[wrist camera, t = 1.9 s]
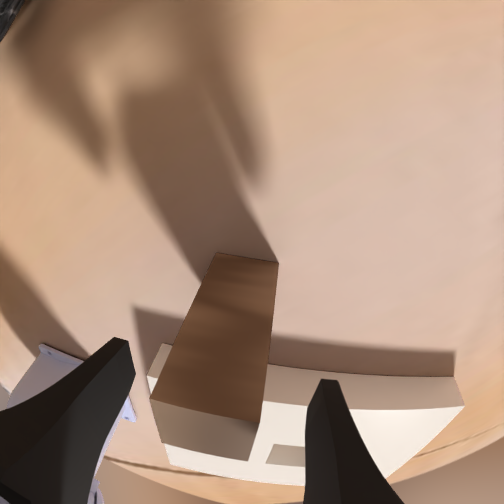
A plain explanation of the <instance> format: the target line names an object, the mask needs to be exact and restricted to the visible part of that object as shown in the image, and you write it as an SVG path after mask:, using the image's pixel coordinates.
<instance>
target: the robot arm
mask: <svg viewBox="0 0 504 504" xmlns="http://www.w3.org/2000/svg"><path fill="white" fill-rule="evenodd" d="M39 349H40V352H41V353H40V354H39V356H38V357H37V358H36V360H35V361H34V362H33V364H32V365H31V366H30V368H29V369H28V370H27V372H26V373H25V374H24V376H23V377H22V379H21V380H20V381H19V383H18V384H17V386H16V387H15V388H14V390H13V391H12V393H11V395H10V398H9V401H8V405H7V409H5V410H3V411H0V504H104V499H103V496H102V493H101V491H100V489H98V485H99V483H100V482H99V481H98V480H96V479H94V477H95V475H96V472H97V470H98V468H99V465H100V463H101V461H102V459H103V456H104V454H105V452H106V450H107V447H108V445H109V443H110V441H111V439H112V436H113V434H114V432H115V430H116V428H117V425H118V423H119V421H120V419H121V418H122V419H125V420H128V421H131V422H136V420H137V418H136V415H135V413H134V410H133V407H132V404H131V401H130V398H129V392H130V389H131V387H132V384H133V381H134V378H135V375H136V372H135V369H134V364H133V360H132V356H131V352H130V347H129V343H128V341H127V340H123V339H120V338H116V337H114V338H112V339H111V340H110V341H108V342H107V343H106V344H105V345H104V346H102V347H101V348H100V349H99V350H98V351H96V352H95V353H94V354H93V355H91V356H90V357H89V358H88V359H87V360H85V361H82V360H80V359H77V358H75V357H72V356H70V355H67V354H65V353H62V352H60V351H58V350H55V349H53V348H51V347H48V346H46V345H44V344H40V345H39ZM303 504H404V503H403V502H402V500H401V499H400V498H399V496H398V495H397V494H396V493H395V491H393V489H392V488H391V486H390V485H389V483H388V482H387V481H386V479H385V478H384V476H383V475H382V473H381V472H380V470H379V468H378V467H377V465H376V464H375V462H374V460H373V458H372V457H371V455H370V453H369V451H368V449H367V447H366V445H365V444H364V442H363V439H362V437H361V435H360V433H359V431H358V429H357V427H356V424H355V422H354V420H353V418H352V415H351V413H350V410H349V408H348V406H347V403H346V400H345V398H344V395H343V392H342V390H341V387H340V384H339V382H338V380H331V379H321V380H320V382H319V384H318V386H317V388H316V390H315V393H314V395H313V397H312V399H311V401H310V403H309V405H308V407H307V414H306V424H305V493H304V501H303Z"/></svg>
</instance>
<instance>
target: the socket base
mask: <svg viewBox="0 0 504 504" xmlns="http://www.w3.org/2000/svg"><path fill="white" fill-rule="evenodd" d="M171 348H172V345H168V344H164V343H162V345H161V347H160V349H159V351H158V353H157V355H156V357H155V359H154V361H153V363H152V366H151V368H150V370H149V372H148V374H147V379H148V384H149V388H150V392H151V394H152V391H153V389H154V387H155V384H156V382H157V380H158V378H159V375H160V373H161V371H162V369H163V366H164V364H165V362H166V360H167V357H168V355H169V353H170V351H171ZM321 379H331V380H338V382H339V384H340V387H341V390H342V392H343V395H344V398H345V400H346V403H347V406H348V408H349V410H350V413H351V415H352V418H353V420H354V422H355V424H356V427H357V429H358V431H359V433H360V435H361V437H362V439H363V442H364V444H365V445H366V447H367V449H368V451H369V453H370V455H371V457H372V458H373V460H374V462H375V464H376V465H377V467H378V468H379V470H380V472H381V473H382V475H383V476H384V478H387V477H388V476H389V475H391V474H392V473H393V472H395V471H396V470H397V469H398V468H400V467H401V466H402V465H403V464H405V463H406V462H407V461H408V460H409V459H411V458H412V457H413V456H414V455H415V454H417V453H418V452H419V451H420V450H421V449H422V448H423V447H424V446H426V445H427V444H428V443H429V442H430V441H431V440H432V439H433V438H434V437H435V436H436V435H437V434H438V433H439V432H440V431H441V430H442V429H444V428H445V427H446V426H447V425H448V423H449V422H450V421H451V420H452V419H453V418H454V417H455V416H456V415H457V414H458V413H459V412H460V411H461V410H462V409H463V408H464V407H465V404H464V401H463V399H462V396H461V393H460V390H459V388H458V385H457V383H456V380H455V377H402V376H378V375H361V374H348V373H336V372H326V371H316V370H308V369H299V368H291V367H284V366H277V365H270V364H268V365H267V373H266V381H265V389H264V397H263V404H262V412H261V419H260V424H259V428H258V431H257V434H256V438H255V441H254V444H253V447H252V450H251V454H250V457H249V460H248V461H241V460H235V459H229V458H224V457H219V456H214V455H209V454H204V453H200V452H195V451H191V450H187V449H183V448H179V447H175V446H171V445H168V444H164V445H165V448H166V452H167V455H168V458H169V461H170V464H171V465H175V466H178V467H182V468H186V469H190V470H195V471H199V472H203V473H208V474H213V475H218V476H223V477H229V478H235V479H241V480H248V481H256V482H264V483H273V484H284V485H299V486H305V424H306V414H307V407H308V405H309V403H310V401H311V399H312V397H313V395H314V393H315V390H316V388H317V386H318V384H319V382H320V380H321Z"/></svg>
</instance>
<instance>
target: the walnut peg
mask: <svg viewBox="0 0 504 504" xmlns="http://www.w3.org/2000/svg"><path fill="white" fill-rule="evenodd" d="M278 266H279V263H277V262H271V261H264V260H258V259H252V258H246V257H240V256H234V255H228V254H222V253H216V255H215V257H214V259H213V261H212V263H211V265H210V267H209V269H208V271H207V273H206V275H205V277H204V279H203V282H202V284H201V286H200V288H199V290H198V292H197V294H196V296H195V299H194V301H193V303H192V305H191V307H190V309H189V311H188V314H187V316H186V318H185V320H184V322H183V324H182V326H181V329H180V331H179V333H178V335H177V337H176V340H175V342H174V344H173V346H172V348H171V351H170V353H169V355H168V357H167V360H166V362H165V364H164V366H163V369H162V371H161V373H160V375H159V378H158V380H157V382H156V384H155V387H154V389H153V391H152V394H151V396H150V398H149V399H150V403H151V407H152V411H153V414H154V418H155V421H156V425H157V428H158V432H159V435H160V439H161V442H162V443H164V444H168V445H171V446H175V447H179V448H183V449H187V450H191V451H195V452H200V453H204V454H209V455H214V456H219V457H224V458H229V459H235V460H241V461H248V460H249V457H250V454H251V450H252V447H253V444H254V441H255V438H256V434H257V431H258V428H259V424H260V419H261V412H262V404H263V397H264V389H265V381H266V373H267V365H268V357H269V349H270V340H271V331H272V323H273V314H274V305H275V295H276V286H277V276H278Z"/></svg>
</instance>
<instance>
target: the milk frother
mask: <svg viewBox="0 0 504 504" xmlns="http://www.w3.org/2000/svg"><path fill="white" fill-rule="evenodd" d="M24 2H25V0H0V42H1V41H2V39H3V37H4V36H5V34H6V32H7V31H8V29H9V27H10V26H11V24H12V22H13V21H14V19H15V17H16V16H17V14H18V12H19V11H20V9H21V7H22V5H23V4H24Z"/></svg>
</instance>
